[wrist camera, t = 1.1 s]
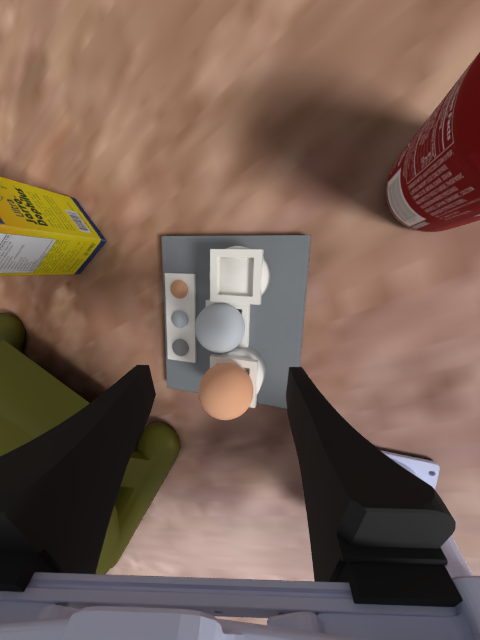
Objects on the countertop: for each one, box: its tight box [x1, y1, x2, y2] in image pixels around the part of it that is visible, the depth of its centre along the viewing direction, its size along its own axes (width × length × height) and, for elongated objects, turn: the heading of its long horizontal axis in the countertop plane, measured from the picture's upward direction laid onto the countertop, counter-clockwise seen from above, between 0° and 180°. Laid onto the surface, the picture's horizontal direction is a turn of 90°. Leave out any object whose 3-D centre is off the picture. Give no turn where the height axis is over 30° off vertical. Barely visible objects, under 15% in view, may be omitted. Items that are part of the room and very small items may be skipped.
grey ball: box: [195, 303, 245, 353], centre depth 21 cm, size 4×4×4 cm
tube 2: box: [210, 347, 266, 408], centre depth 23 cm, size 5×5×3 cm
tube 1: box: [210, 246, 271, 306], centre depth 21 cm, size 5×5×3 cm
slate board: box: [162, 235, 311, 409], centre depth 24 cm, size 16×14×2 cm
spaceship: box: [0, 313, 180, 575], centre depth 32 cm, size 35×31×10 cm
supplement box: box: [0, 177, 106, 276], centre depth 23 cm, size 6×6×11 cm
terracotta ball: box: [199, 363, 254, 420], centre depth 20 cm, size 4×4×4 cm
